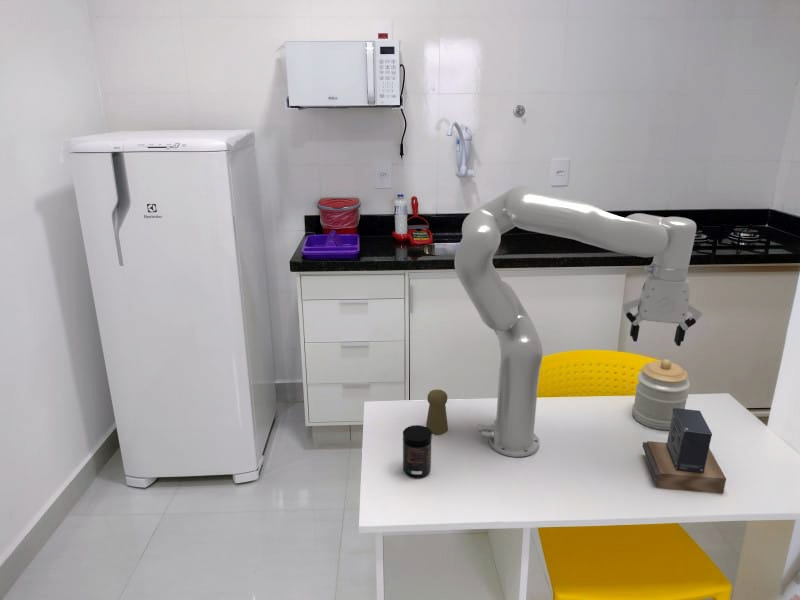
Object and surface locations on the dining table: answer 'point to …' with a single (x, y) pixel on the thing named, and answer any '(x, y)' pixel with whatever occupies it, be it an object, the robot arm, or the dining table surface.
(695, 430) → the small box
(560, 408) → the dining table surface
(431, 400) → the cork
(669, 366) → the jar
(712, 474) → the dock
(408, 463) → the supplement container
